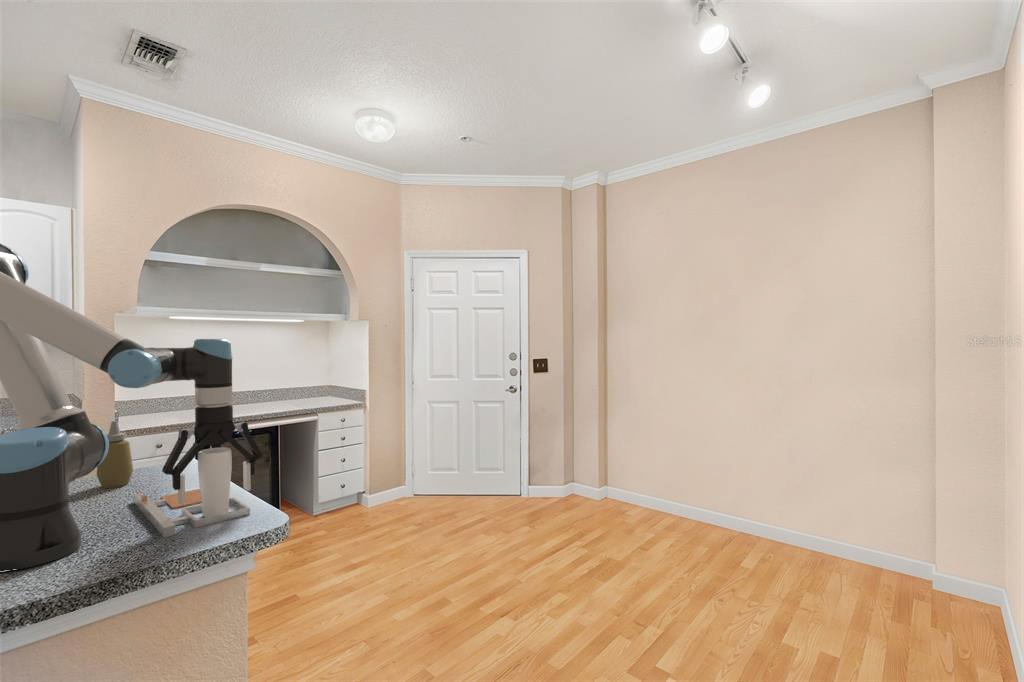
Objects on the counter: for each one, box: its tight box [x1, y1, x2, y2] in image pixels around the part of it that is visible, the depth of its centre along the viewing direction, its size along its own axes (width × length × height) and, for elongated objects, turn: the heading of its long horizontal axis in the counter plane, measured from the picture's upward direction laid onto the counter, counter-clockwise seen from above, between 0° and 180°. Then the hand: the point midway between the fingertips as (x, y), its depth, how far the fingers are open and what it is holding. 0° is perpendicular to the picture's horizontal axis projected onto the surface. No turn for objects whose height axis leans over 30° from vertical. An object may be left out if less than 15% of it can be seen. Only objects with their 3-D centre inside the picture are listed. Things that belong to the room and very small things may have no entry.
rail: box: [133, 488, 251, 538], centre depth 121 cm, size 32×18×3 cm, turn 46°
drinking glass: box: [197, 447, 233, 518], centre depth 117 cm, size 7×7×15 cm
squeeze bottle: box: [96, 420, 134, 489], centre depth 141 cm, size 8×8×18 cm
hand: (215, 496), depth 117 cm, fingers open, 13 cm apart
